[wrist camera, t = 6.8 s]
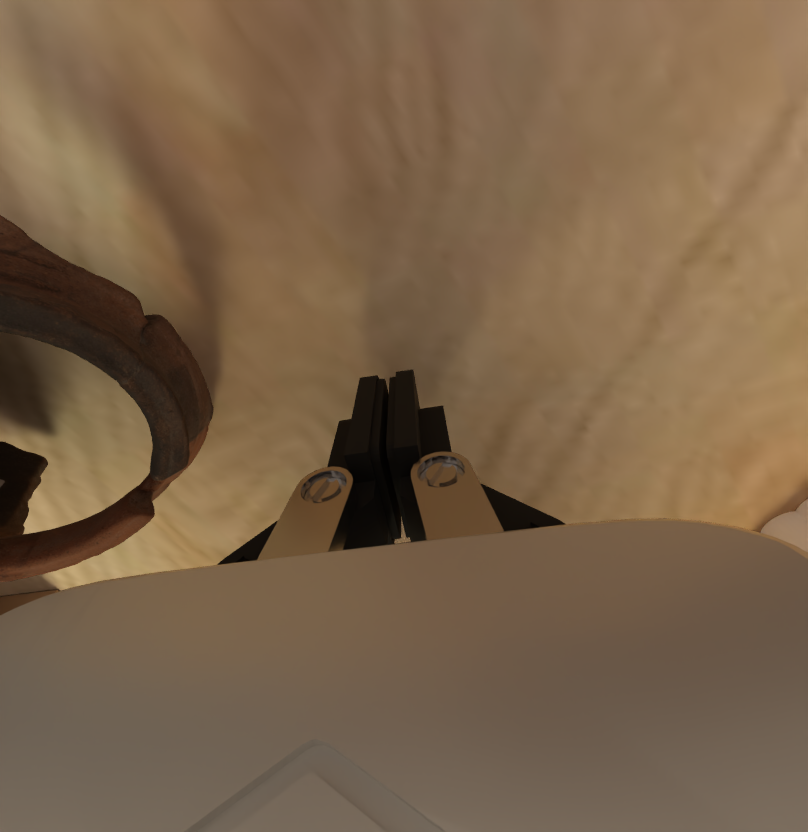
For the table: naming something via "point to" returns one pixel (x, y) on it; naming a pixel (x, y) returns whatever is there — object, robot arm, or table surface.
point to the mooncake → (790, 527)
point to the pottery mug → (123, 361)
